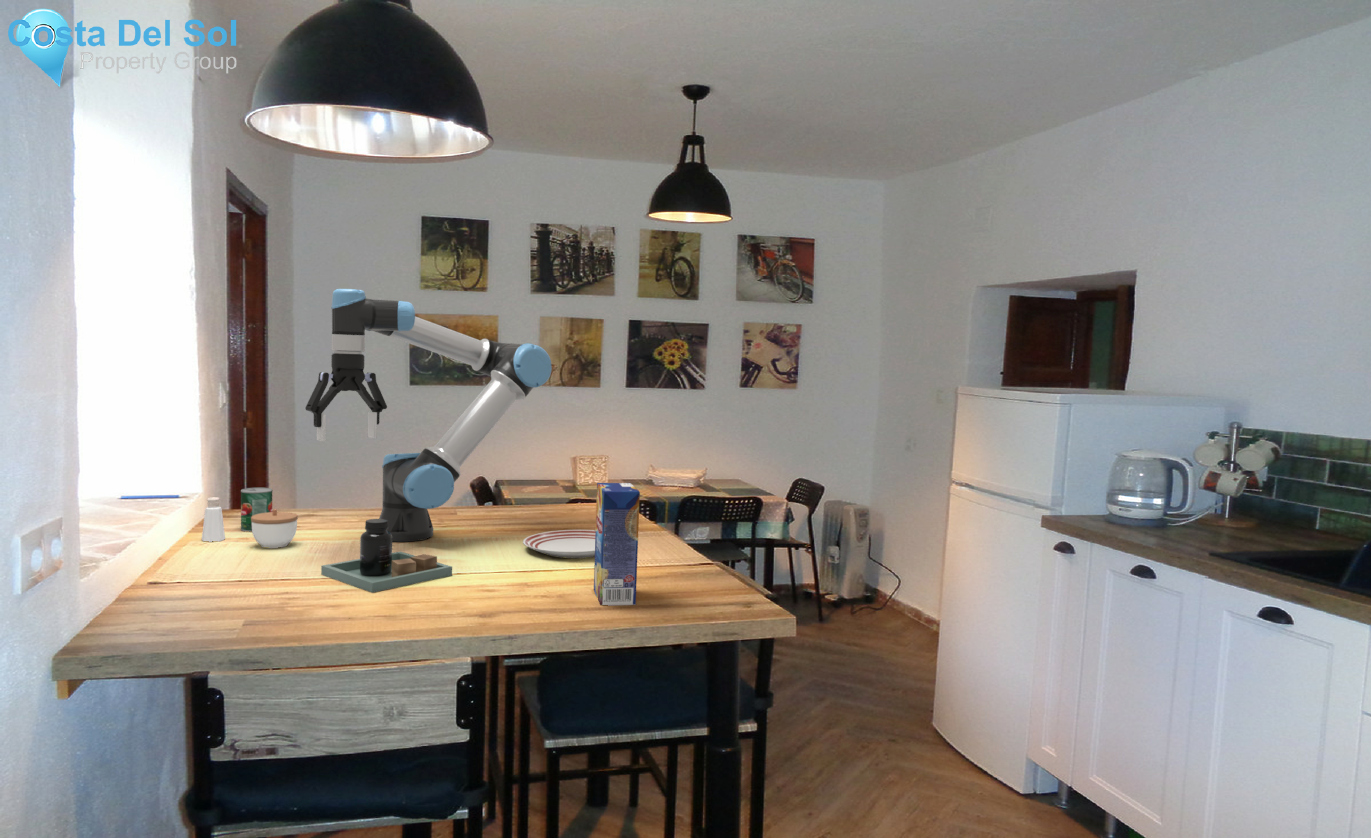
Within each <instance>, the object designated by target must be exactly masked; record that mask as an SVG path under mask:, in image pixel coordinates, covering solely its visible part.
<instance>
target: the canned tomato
mask: <svg viewBox="0 0 1371 838" xmlns="http://www.w3.org/2000/svg"><path fill="white" fill-rule="evenodd" d="M272 510H273V488H271V487H247V488H242V489H241V490H240V531H241V532H245V531H249V532H248V533H251V532H250V531H252V521H251V517H252V516H253V515H256V514H260V513H268V512H272Z"/></svg>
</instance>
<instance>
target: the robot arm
mask: <svg viewBox="0 0 1371 838" xmlns="http://www.w3.org/2000/svg"><path fill="white" fill-rule="evenodd" d="M331 297H332V298H331V351H333V352H334V353H333V352H332V354H331V373H329V372H326V371H324V372H323V371H321V372H319V373H318V378H317V379H318V381H317V383H316V384H315V387H314V389H313V392H312V393H311V395H310V398H309V399H308V401H307V403H306V406H305V410H306V411H308V412H311V413H312V414H313V426H314V427H315V428H316V441H319V442H326V440H327V439H326V437H327V436H326V435H327V434H326V431H327V429H326V428H327V424H326V422H327V421H326V420H327V419H326V418H327V414H326V413H324V411H325V410H326V409H327V408H328V406H329V405H330V404H331V402H333V400H334V398H335V397H336V396H337V395H338V394H339V393H341V392H348V391H349V392H350V391H351V392H356V393H357V394H358V395H359V397H361V399H362V401H363V402H364V403H365V404H366V405H367V406H368V408H369V409H370V411H368V413H367V438H369V439H377V438H378V437H377V434H378V433H377V431H378V430H377V429H378V428H377V427H378V426H377V425H379V424H380V414H381V412H382V411H383V410H386V409H387V408H388V406H387V403H386V401H385V399H384V397H383V394H382V391H381V389H380V387H379V384H378V382H377V376H376V373H375V372H367V373H364V372H365V371H364V369H365V355H364V354H363V352H365V351H366V349H365V348H366V347H365V345H366V343H365V340H366V339H365V337H366V336H365V335H366V333H365V332H367V331H368V332H375V333H378V334H381V335H384V336H388V337H390V338H393V339H395V340H398V341H402V342H404V343H407V344H409V345H413V346H415V347H418V348H420V349H424V350H425V351H426V350H427V351H429V352H433V353H435V354H438V355H441V356H444V357H447V358H449V359H452V360H455V361H458V362H460V363H464V364H466V365H469V366H471V368H472V370H474V371H475V372H478V373H481V374H484V375H486V376H488V377H490V378H491V379H490V381H489V382H488V383H487V385H485V386H484V388H483V389H482V390H481V392H480V393H479V394H478V395H477V396H476V397H475V399H474V400H472V402H471V403H470V404H469V405H468V406H467V408H466V409H465V410H463V412H462V413H461V415H460V416H459V417H458V418H457V419H456V420H455V422H454V423H453V424H452V425H451V426H450V428H449V429H448V430H447V431H446V432H445V433H444V434H443V436H441V438H440V439H439V440H438V442H437V443H436V444H435V445H433V446H429V447H424V449H423V450H421V452H410V453H409V452H408V453H407V452H406V453H387V454H386V455H384V457H383V460H382V461H383V462H382V465H381V467H382V506H381V507H382V508H381V512H380V515H379V518H378V519H386V520H388V529H387V531H388V532H390V533H391V534H392V542H396V543H397V542H399V543H402V542H403V543H404V542H415V541H423V540H428V539H430V538H433V536H434V526H433V523H432V520H431V517H430V513H429V510H431V509H436V508H438V507H441V506H443V505H444V504H445V503H447V502H448V501H449V500H450V498H451V497H452V495H453V492H454V490H455V482H456V481H457V480H458V479H459V478H460V476H461V466H462V465H463V464H464V462H465V461H466V460H467V459H468V458H469V457H470V456H471V455H472V453H473V452H474V451H475V450H476V448H477V447H478V446H479V445H480V443H481V442H482V441H483V440H484V439H485V438H486V437H487V435H488V434H489V433H490V432H491V431H492V429H493V428H494V427H495V425H497V424H498V422H499V421H500V420H501V419H502V418H503V416H504V415H505V414H506V413H507V412H508V410H509V409H510V408H511V407H512V405H513V404H514V403H515V402H516V401H517V400H525V398H526V397H527V396H528V395H529V394H530V392H531V391H532V390H533V389H534V388H539V387H541V386H543V385H545V384H546V383H547V382H548V380H549V379H550V377H551V374H552V360H551V357H550V355H549V354H548V352H547V351H546V350H545V349H544V348H543V347H541V346H540V345H536V344H533V343H528V342H527V343H507V342H498V341H494V340H490V339H488V338H482V339H480V340H479V339H477V338H475V337H472V336H470V335H468V334H464V333H461V332H458V331H455V330H453V329H450V328H447V327H445V326H442V325H440V324H437V323H436V322H435V323H434V322H432V321H429V320H426V319H423V318H421V317H418V316H416V310H415V307H414V305H413V303H411V302H409V301H402V300H391V299H390V300H388V299H372V298H367V296H366V292H365V291H364V290H362V289H354V288H337V289H335V290H333V292H332V296H331ZM330 381H332V384H331V385H330V386H329V387H328V390H326V388H327V386H328V384H329V382H330ZM364 381H365V382H366V384H367V386H368V389H369V391H370V393H371V394H370V393H369V391H368V390H367V388H366V386H365V385H364V384H363V383H364ZM325 390H326V393H325ZM324 393H325V394H324ZM428 509H429V510H428ZM429 537H430V538H429ZM427 538H428V539H427Z"/></svg>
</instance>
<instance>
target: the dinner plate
mask: <svg viewBox="0 0 1371 838" xmlns="http://www.w3.org/2000/svg"><path fill="white" fill-rule="evenodd" d="M595 534H596V529H595V530H594V529H564V530H563V529H562V530H551V531H544V532H539V533H535V534H531V535H529V536H527V537H525V538H523V540H522V545H525V546H526V547H527V548H529V549H531V550H534V551H536V552H539V553H542V554H544V553H545V555H547V554H548V555H547V556H550V555H551V556H550V557H556V558H562V557H566V558H565V559H586V558H585V557H590V558H595Z"/></svg>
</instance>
